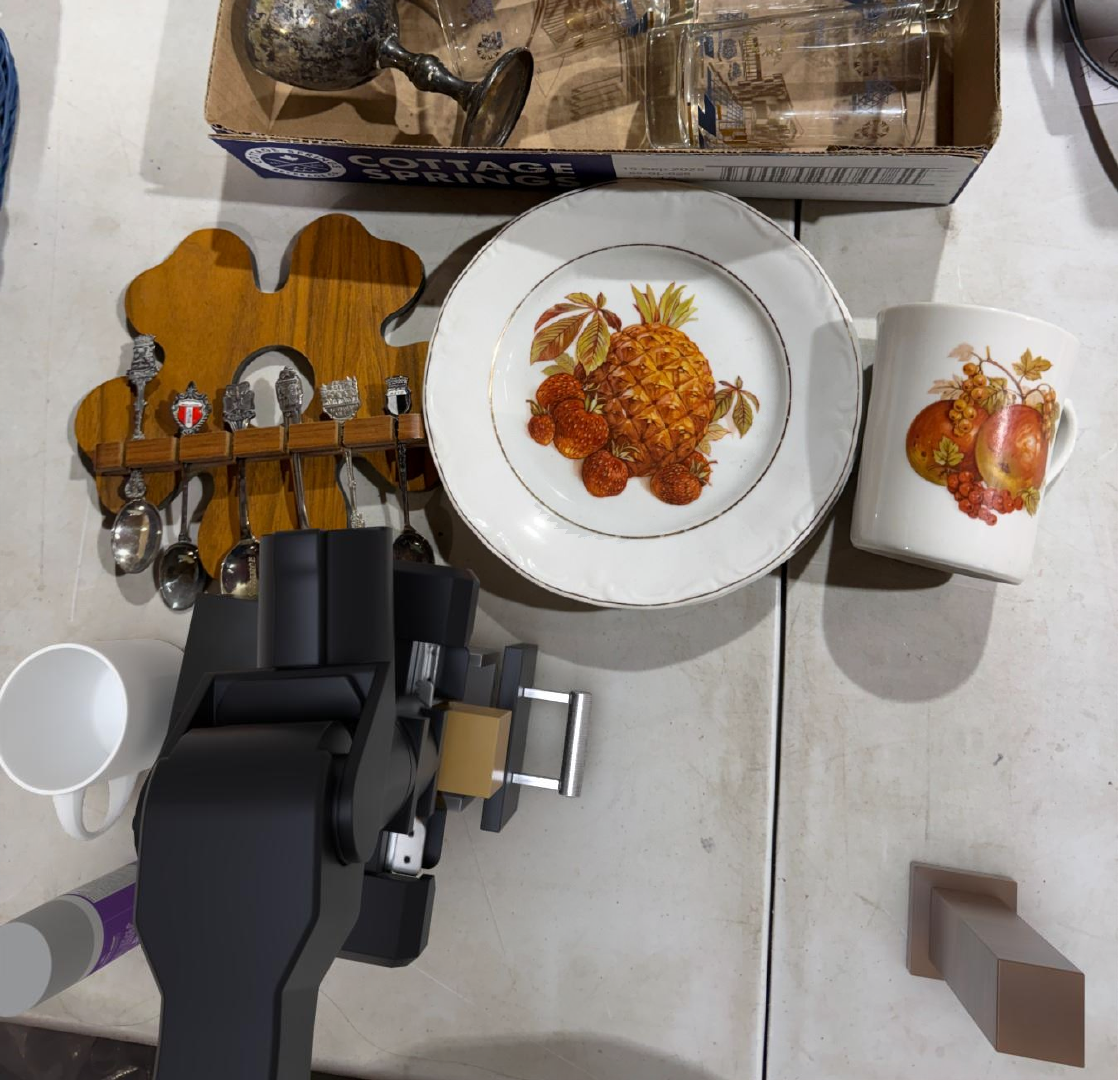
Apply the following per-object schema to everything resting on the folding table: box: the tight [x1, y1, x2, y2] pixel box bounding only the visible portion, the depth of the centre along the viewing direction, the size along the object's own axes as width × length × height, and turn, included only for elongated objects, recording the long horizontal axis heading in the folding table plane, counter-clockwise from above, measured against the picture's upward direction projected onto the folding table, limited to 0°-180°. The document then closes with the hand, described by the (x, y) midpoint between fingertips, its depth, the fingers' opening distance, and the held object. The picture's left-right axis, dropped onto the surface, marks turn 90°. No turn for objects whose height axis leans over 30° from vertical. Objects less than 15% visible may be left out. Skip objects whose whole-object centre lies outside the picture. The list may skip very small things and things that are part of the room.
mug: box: [0, 638, 184, 842], centre depth 65 cm, size 9×12×11 cm
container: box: [0, 859, 140, 1018], centre depth 60 cm, size 5×5×15 cm
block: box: [432, 701, 512, 799], centre depth 56 cm, size 4×4×4 cm
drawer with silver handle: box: [414, 642, 594, 834], centre depth 64 cm, size 16×10×7 cm, turn 83°
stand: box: [905, 861, 1086, 1069], centre depth 55 cm, size 6×6×14 cm
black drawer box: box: [167, 592, 258, 733], centre depth 66 cm, size 13×12×9 cm
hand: (430, 731), depth 60 cm, fingers closed on block, 4 cm apart
